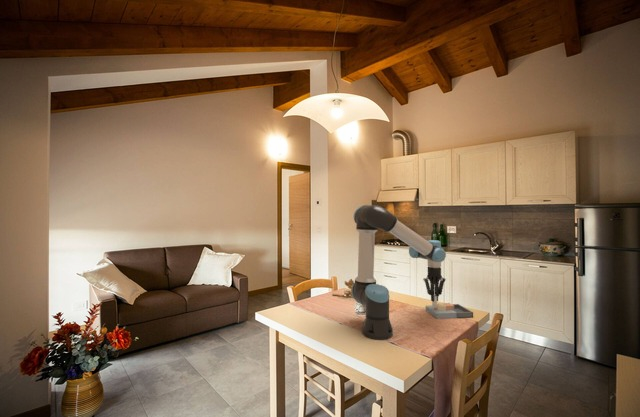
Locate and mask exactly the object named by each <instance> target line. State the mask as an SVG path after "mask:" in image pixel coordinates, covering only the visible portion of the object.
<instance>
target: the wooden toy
mask: <svg viewBox="0 0 640 417" xmlns="http://www.w3.org/2000/svg"><path fill="white" fill-rule="evenodd" d="M343 282H344V285H345V286H347V288H348V289H344V291H343V294H339V293H338V294H337V293H332V295H334V296H335V297H338V299H340V298H341V300H346V299H347V300H348V301H353V302H354V301H355V302H357V301H356V300H355V299H354V298H353V296H352V292H351V289H352V286H353V285H354V283H355V280H353V279H352V278H350V279H349V280H348V281H346V280H344V281H343ZM344 295H346V296H344ZM339 296H340V297H339Z"/></svg>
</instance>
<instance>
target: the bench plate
mask: <svg viewBox="0 0 640 417" xmlns="http://www.w3.org/2000/svg"><path fill="white" fill-rule="evenodd" d="M425 312H426V313H428V314H430V315H431V316H432V317H434V318H435V319H437V320H439V319H440V320H441V319H458V318H457V312H455V311H453V310H442V311H438V310H436V309H435V308H434V307H433V306H432V304H431V305H425Z"/></svg>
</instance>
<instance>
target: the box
mask: <svg viewBox="0 0 640 417" xmlns="http://www.w3.org/2000/svg"><path fill="white" fill-rule="evenodd" d="M451 304H452V303H451ZM452 305H454V310H453V311H455V312H457V318H456V319H472V318H473V319H474V312H473V311H472V310H471V309H468V308H466V307H465V306H463V305H461V304H459V303H455V304H454V303H453V304H452Z"/></svg>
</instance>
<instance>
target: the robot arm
mask: <svg viewBox="0 0 640 417" xmlns="http://www.w3.org/2000/svg"><path fill="white" fill-rule="evenodd" d="M353 221H354V223H355V224H356V228H355V229H356V231H357V232H358V253H357V254H358V255H357V256H358V257H357V259H358V262H357V276H356V277H355V278H354V285H353V286H352V289H350V291H351V292H352V296H353V298H354V299H355V300H356V301H355V302H357V303H358V304H360V305H362V306H363V307H365V319H364V322H363V325H362V330H361V331H362V335H363V336H364V337H366V338H368V339H372V340H378V341H380V340H381V341H384V340H388V339H390V338H392V337H393V336H394V329H393V327H392V324H391V320H390V291H389V289H388V287H386V286H385V285H382V284H378V283H377V279H376V278H375V277H374V273H375V271H374V269H375V267H374V266H375V241H376V240H375V237H376V236H375V235H376V233H377V232H378V229H379V230H382V231H383V232H385V233H390V234H391V235H393V236H394V237H395V238H397V239H398V240H400V241H401V242H404V244H406V245H408V246H409V247H408V248H409V249H408V254H409V256H410V257H411V258H412V259H424V260H426V261H427V276H426V277H423V280H422V281H424V283H425V288H426V293H427V294H428V295H429V296H430V301H432V302H431V303H432V304H431V305H432V306H433V307H437V304H438V301H439V297H440V296H441V295H442V294H443V293H442V292H443V288H444V284H445V283H446V282H445V281H446V278H444V277H443V276H442V262H444V261H445V260H446V257H447V254H446V251H445V250H444V249H443V248H442V245H441V244H442V243H441V241H440V240H435V239H434V240H433V239H431V240H426V239H425V238H424V237H422V236H421V235H419V234H418V233H416V232H415V231H414V230H412V229H411V228H409V227H408V226H407V225H405V224H404V223H402V222H401V221H399V220H398V217H397V216H396V215H394V214H393V213H392V212H390V211H389V210H387V209H385V208H384V207H382V206H381V205H377V204H374V205H373V204H372V205H371V204H369V205H367V204H365V205H362V206H359V207H357V208H356V209H355V211H354V213H353Z"/></svg>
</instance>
